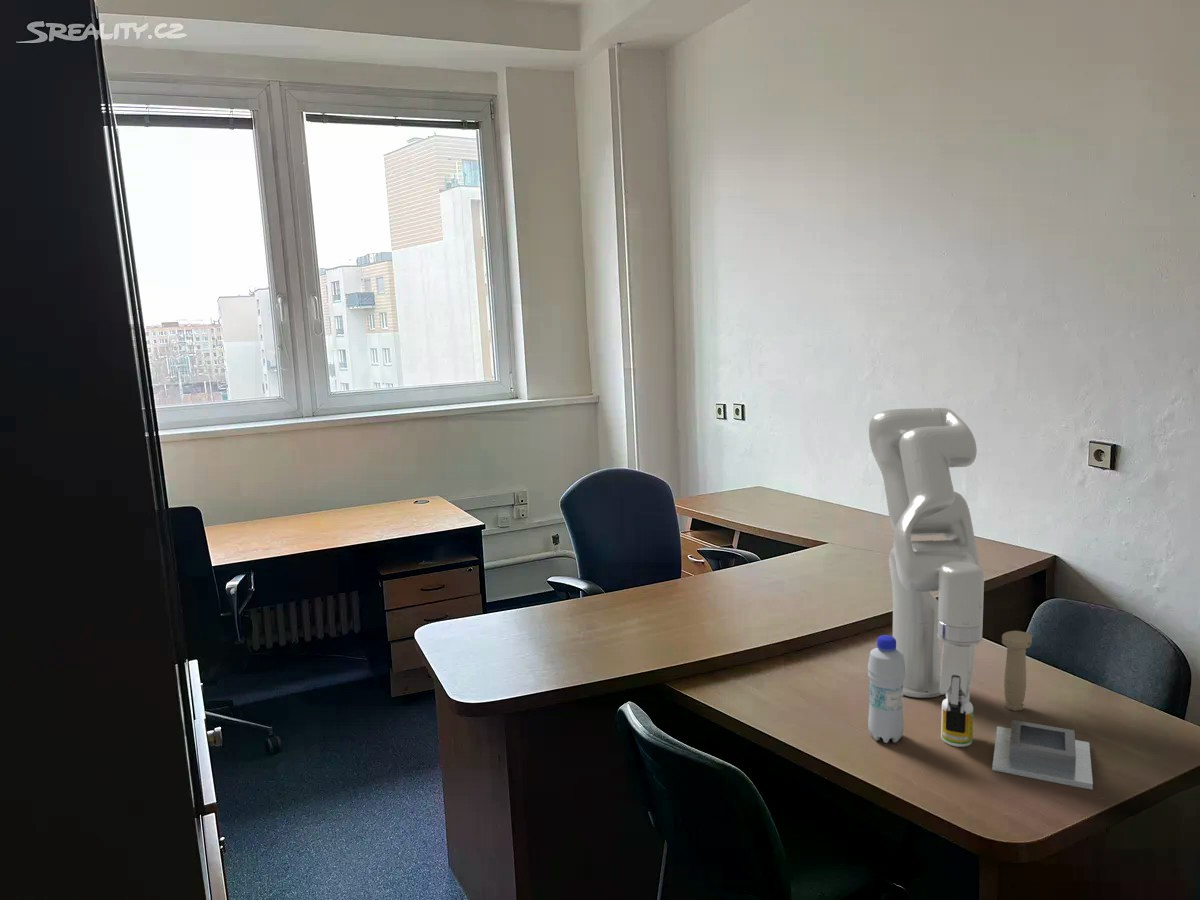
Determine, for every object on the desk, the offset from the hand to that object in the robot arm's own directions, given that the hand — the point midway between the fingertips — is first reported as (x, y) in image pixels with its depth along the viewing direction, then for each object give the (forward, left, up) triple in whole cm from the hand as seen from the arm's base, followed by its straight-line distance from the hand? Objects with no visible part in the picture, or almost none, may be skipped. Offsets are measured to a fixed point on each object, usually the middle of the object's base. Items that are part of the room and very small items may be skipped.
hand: (957, 722), depth 155 cm
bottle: (-12, -4, -4) cm, 13 cm away
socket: (+14, -1, -3) cm, 14 cm away
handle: (+9, +18, -4) cm, 20 cm away
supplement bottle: (0, 0, -4) cm, 4 cm away
